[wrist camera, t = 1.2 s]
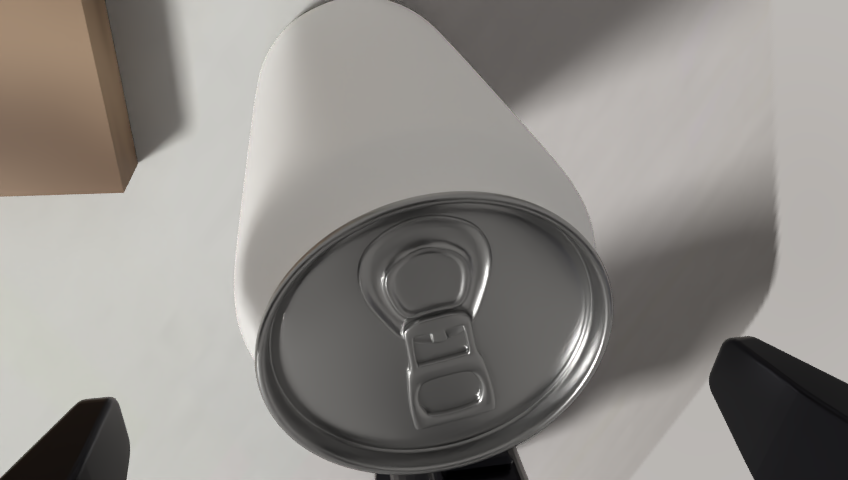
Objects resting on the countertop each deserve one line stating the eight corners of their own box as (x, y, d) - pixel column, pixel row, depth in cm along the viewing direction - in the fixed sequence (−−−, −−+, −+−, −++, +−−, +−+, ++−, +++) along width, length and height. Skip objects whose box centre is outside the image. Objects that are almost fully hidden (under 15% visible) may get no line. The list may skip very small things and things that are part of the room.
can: (444, -29, 18) (648, 113, 8) (471, 166, 21) (635, 435, 11) (225, 18, 17) (145, 235, 7) (290, 210, 21) (295, 530, 11)
